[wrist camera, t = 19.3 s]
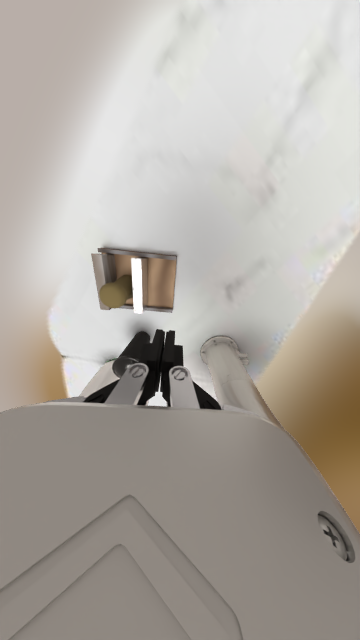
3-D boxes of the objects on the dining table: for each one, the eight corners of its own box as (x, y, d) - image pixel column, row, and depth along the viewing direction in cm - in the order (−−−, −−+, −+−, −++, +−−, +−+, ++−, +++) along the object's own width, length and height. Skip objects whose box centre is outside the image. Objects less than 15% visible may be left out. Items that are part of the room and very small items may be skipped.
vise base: (176, 256, 34) (176, 256, 27) (172, 309, 40) (171, 319, 33) (103, 248, 33) (84, 246, 26) (110, 304, 39) (97, 313, 33)
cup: (101, 360, 48) (71, 401, 35) (119, 355, 47) (96, 395, 34) (112, 374, 51) (88, 417, 38) (129, 370, 50) (111, 412, 37)
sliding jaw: (147, 258, 33) (141, 258, 27) (147, 305, 38) (142, 313, 32) (139, 257, 32) (131, 257, 27) (140, 304, 38) (134, 312, 32)
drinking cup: (131, 325, 42) (95, 378, 24) (155, 330, 43) (138, 384, 25) (130, 345, 45) (97, 404, 27) (152, 349, 46) (135, 409, 28)
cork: (125, 300, 37) (105, 316, 28) (112, 279, 35) (86, 289, 25) (144, 292, 37) (131, 306, 27) (133, 270, 34) (114, 276, 24)
